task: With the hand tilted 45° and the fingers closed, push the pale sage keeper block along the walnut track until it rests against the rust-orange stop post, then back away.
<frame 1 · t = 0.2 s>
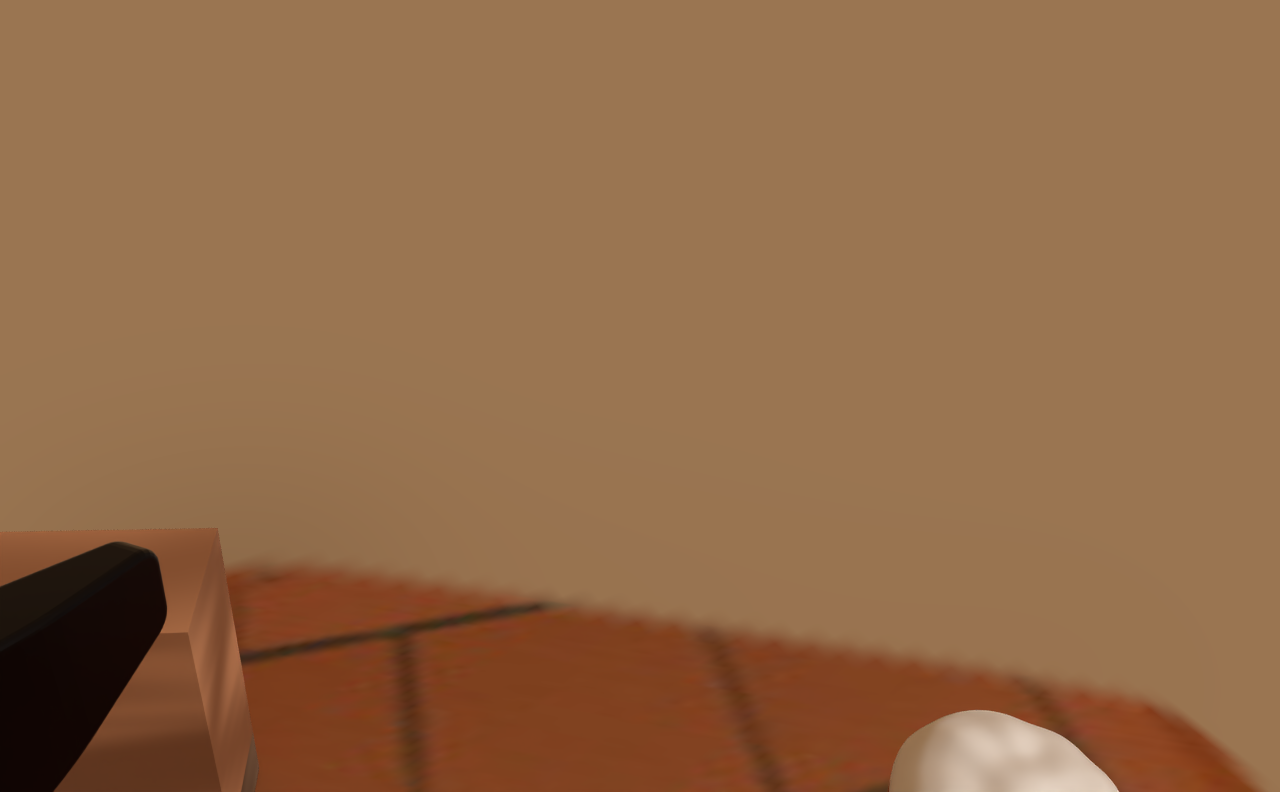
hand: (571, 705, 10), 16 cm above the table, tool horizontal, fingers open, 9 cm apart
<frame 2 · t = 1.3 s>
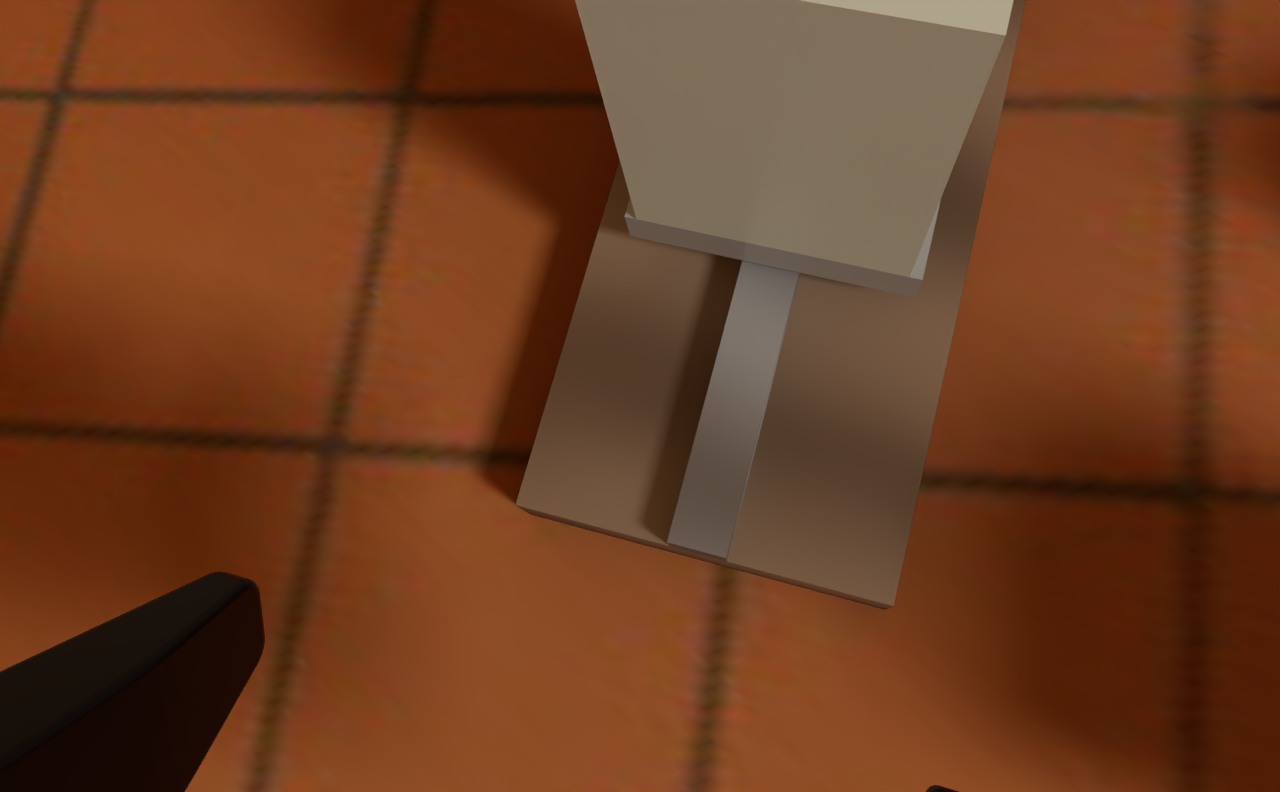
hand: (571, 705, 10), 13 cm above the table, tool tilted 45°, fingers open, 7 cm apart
keeper: (796, 72, 17), point 7 cm above the table, slide at 0.0 cm
track: (713, 516, 23), on the table
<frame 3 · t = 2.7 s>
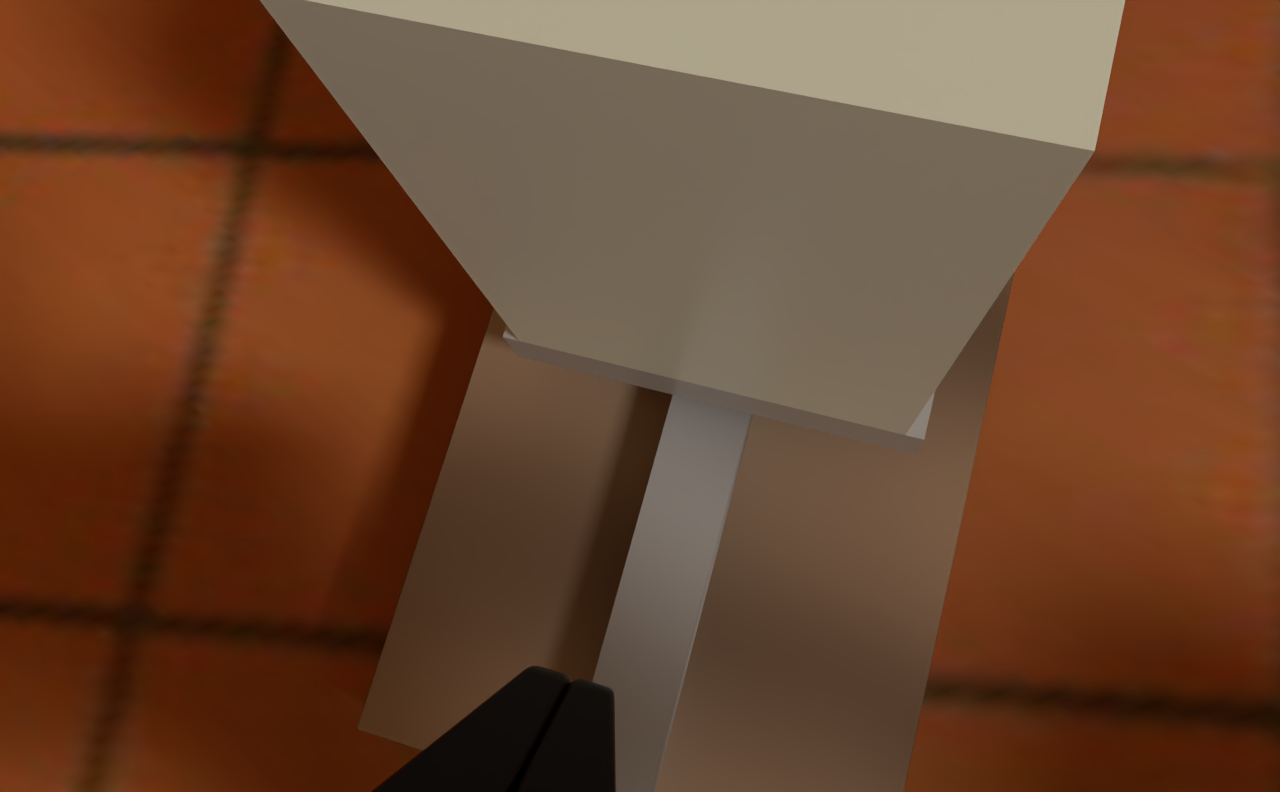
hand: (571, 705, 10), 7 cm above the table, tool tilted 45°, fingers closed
keeper: (731, 153, 11), point 7 cm above the table, slide at 0.0 cm
track: (637, 733, 17), on the table
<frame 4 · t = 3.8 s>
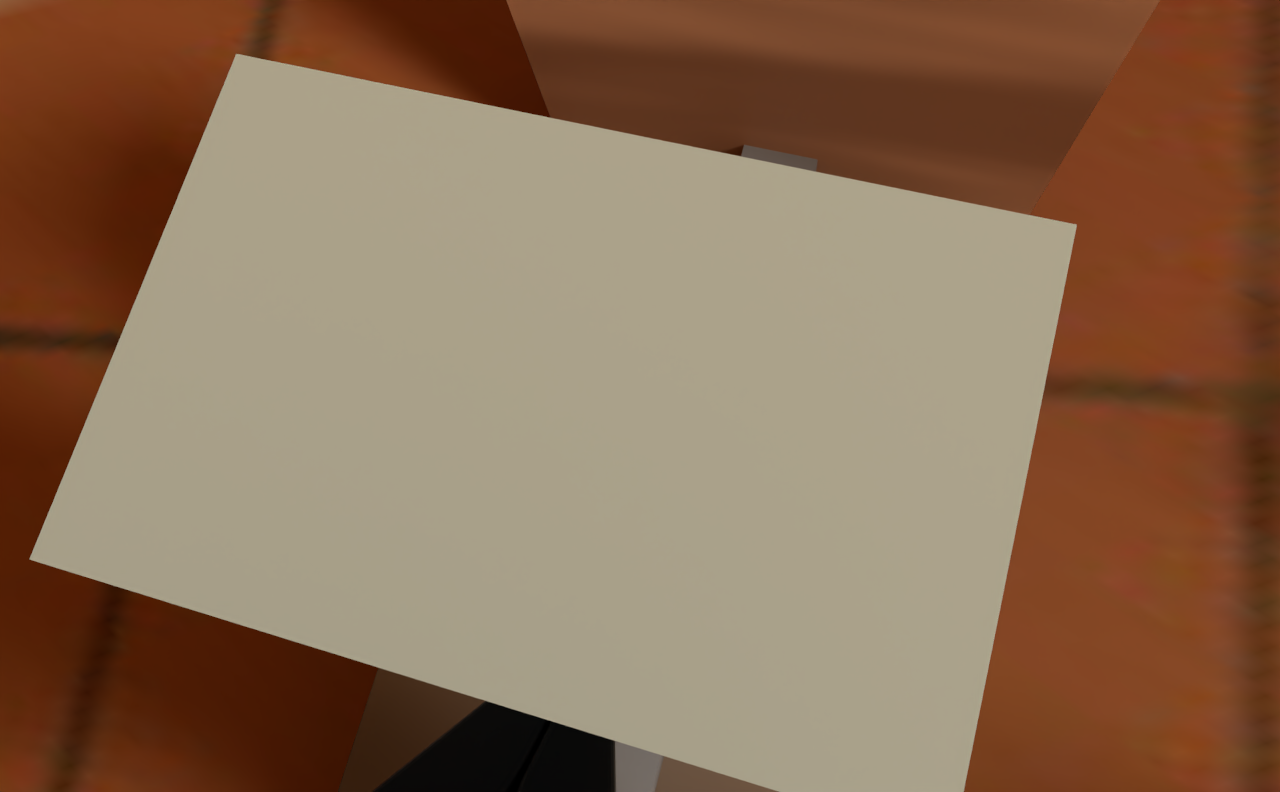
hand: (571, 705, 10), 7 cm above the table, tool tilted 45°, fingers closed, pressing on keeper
keeper: (632, 506, 10), point 7 cm above the table, slide at 0.1 cm, touching gripper
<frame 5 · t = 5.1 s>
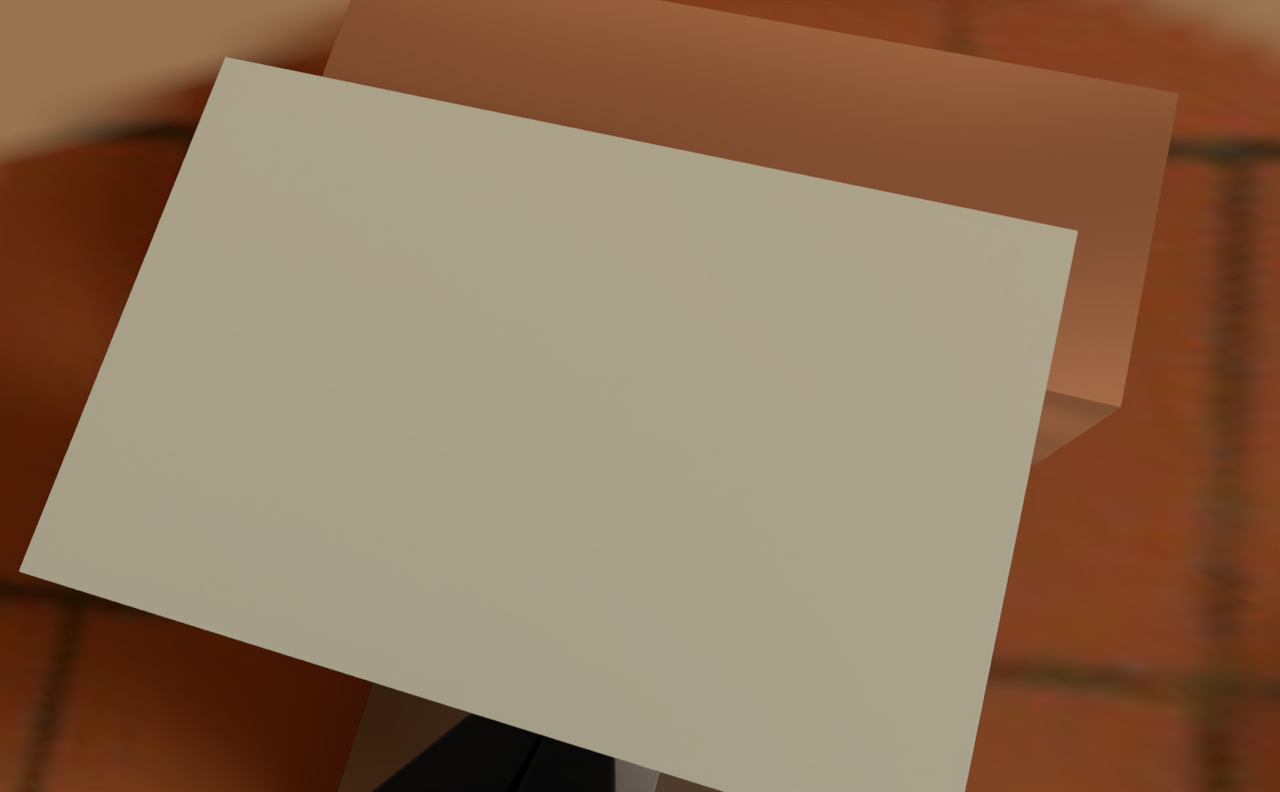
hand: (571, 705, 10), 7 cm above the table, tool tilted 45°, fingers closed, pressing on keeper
keeper: (631, 507, 10), point 7 cm above the table, slide at 5.0 cm, touching gripper, track
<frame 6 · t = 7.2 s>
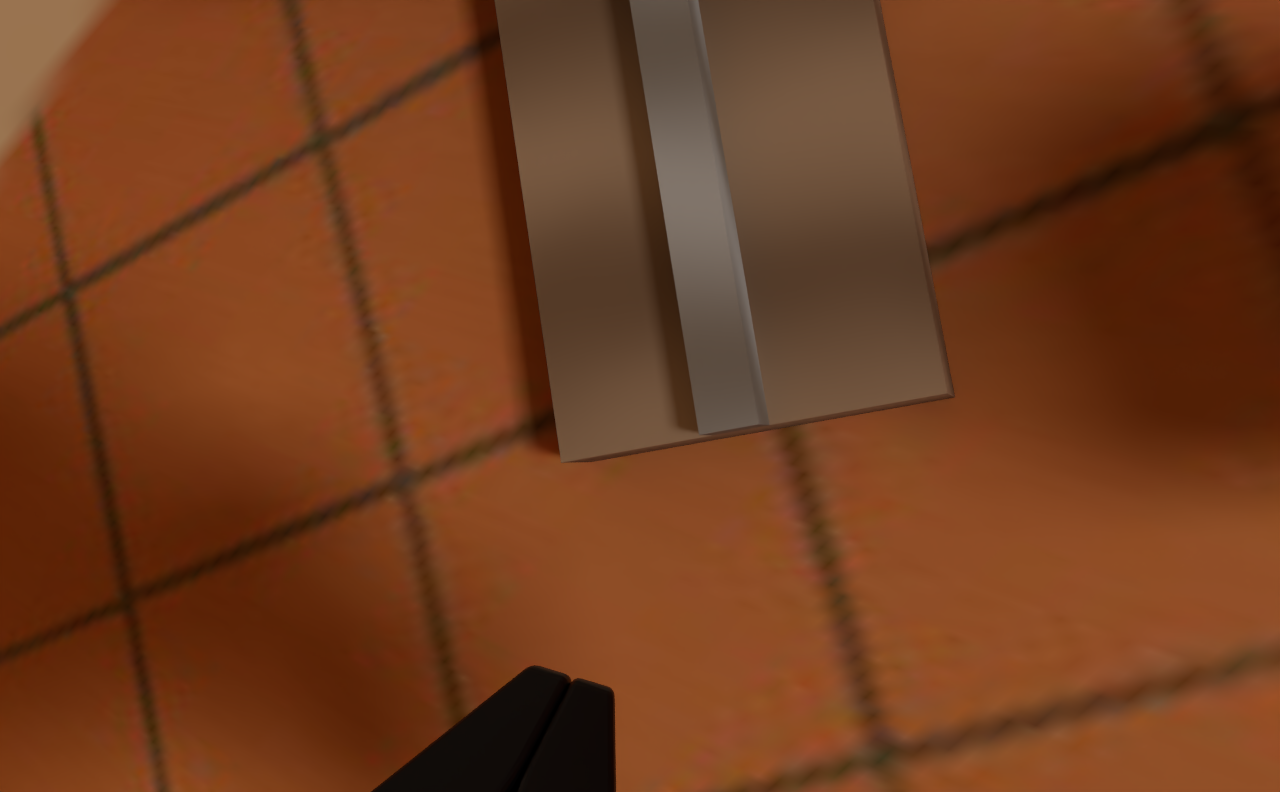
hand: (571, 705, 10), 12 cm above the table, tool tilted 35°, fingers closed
track: (753, 385, 22), on the table
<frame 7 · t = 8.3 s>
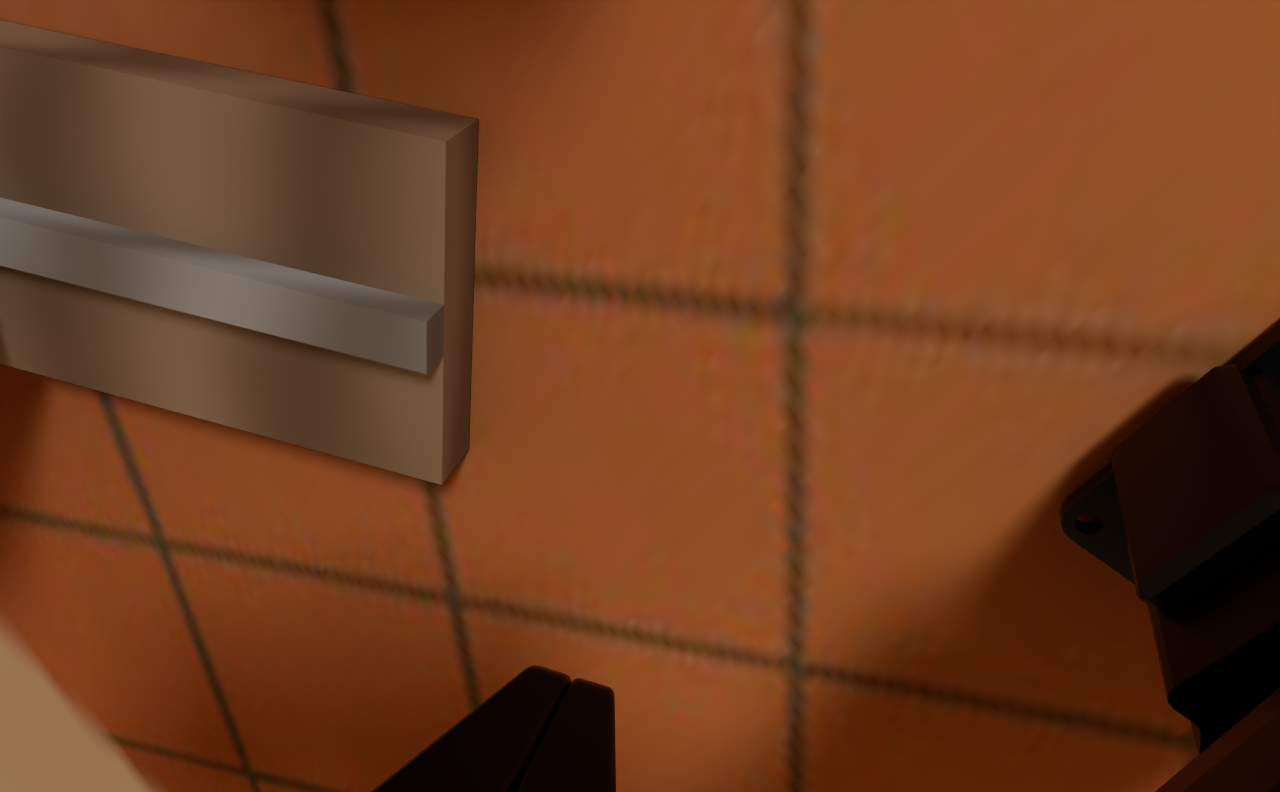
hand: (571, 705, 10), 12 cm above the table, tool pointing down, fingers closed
track: (430, 290, 22), on the table
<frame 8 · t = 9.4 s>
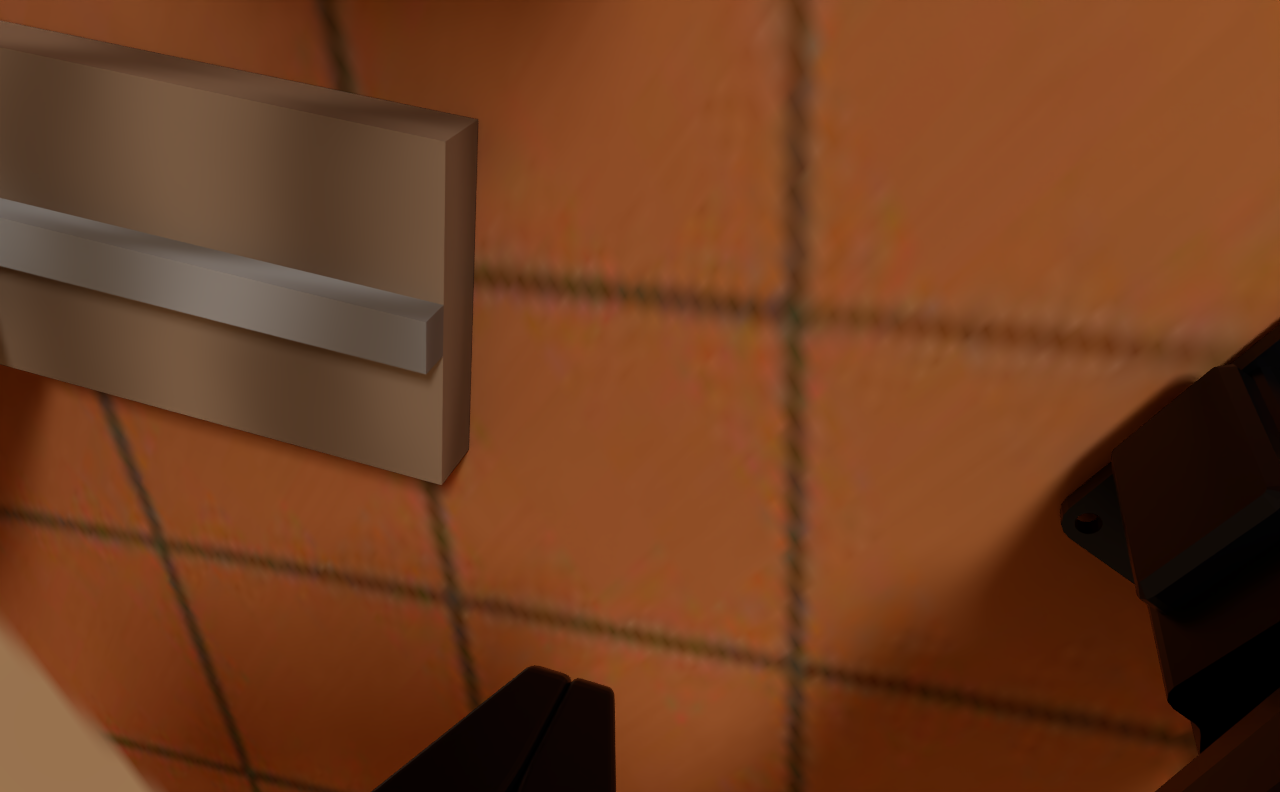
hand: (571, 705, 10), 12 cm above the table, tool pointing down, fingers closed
track: (430, 290, 22), on the table
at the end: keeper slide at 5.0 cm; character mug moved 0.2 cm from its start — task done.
